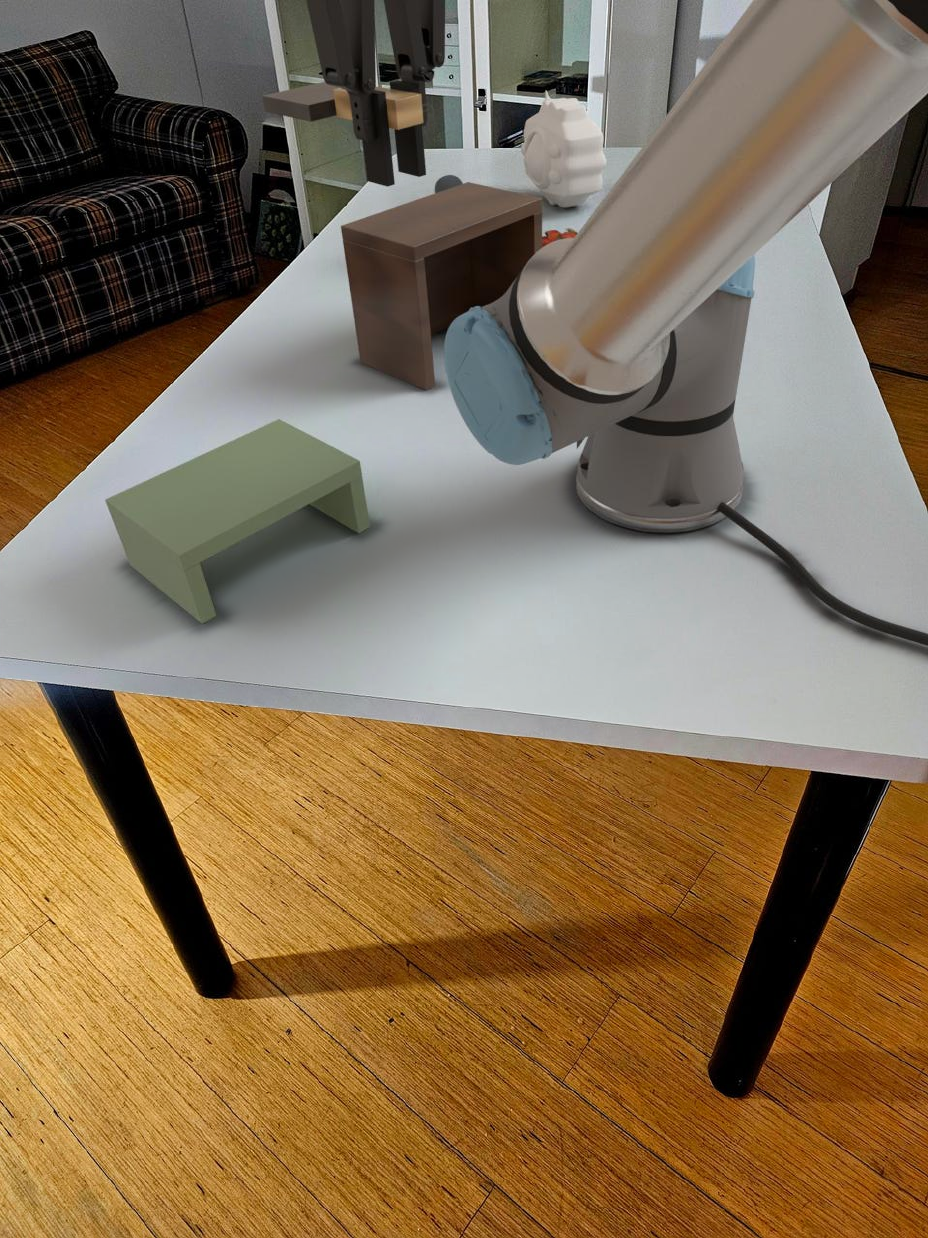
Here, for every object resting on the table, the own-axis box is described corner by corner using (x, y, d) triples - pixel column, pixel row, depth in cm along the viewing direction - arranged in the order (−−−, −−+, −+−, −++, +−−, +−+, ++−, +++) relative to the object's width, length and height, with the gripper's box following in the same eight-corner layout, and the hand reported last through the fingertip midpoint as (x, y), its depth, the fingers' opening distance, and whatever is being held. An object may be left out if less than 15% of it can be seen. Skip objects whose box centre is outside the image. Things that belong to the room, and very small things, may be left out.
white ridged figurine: (566, 185, 159) (567, 83, 149) (613, 212, 146) (618, 102, 136) (509, 196, 157) (507, 92, 146) (553, 223, 144) (553, 112, 133)
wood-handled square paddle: (444, 117, 70) (443, 88, 69) (375, 135, 67) (371, 105, 65) (331, 95, 79) (327, 69, 78) (264, 111, 76) (259, 84, 75)
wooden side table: (542, 332, 112) (542, 197, 101) (426, 390, 101) (413, 246, 91) (474, 310, 118) (468, 181, 108) (360, 362, 108) (340, 225, 98)
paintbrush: (518, 220, 146) (517, 187, 143) (494, 227, 144) (493, 195, 140) (445, 197, 158) (443, 167, 155) (423, 204, 156) (420, 173, 153)
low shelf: (370, 527, 81) (360, 460, 77) (202, 624, 72) (179, 555, 68) (292, 482, 88) (278, 418, 84) (130, 565, 79) (104, 499, 74)
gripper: (413, -214, 63) (439, 150, 78) (221, -208, 56) (291, 193, 71) (485, -225, 59) (497, 163, 74) (287, -220, 51) (346, 210, 67)
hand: (396, 177), depth 72 cm, fingers closed on wood-handled square paddle, 3 cm apart
